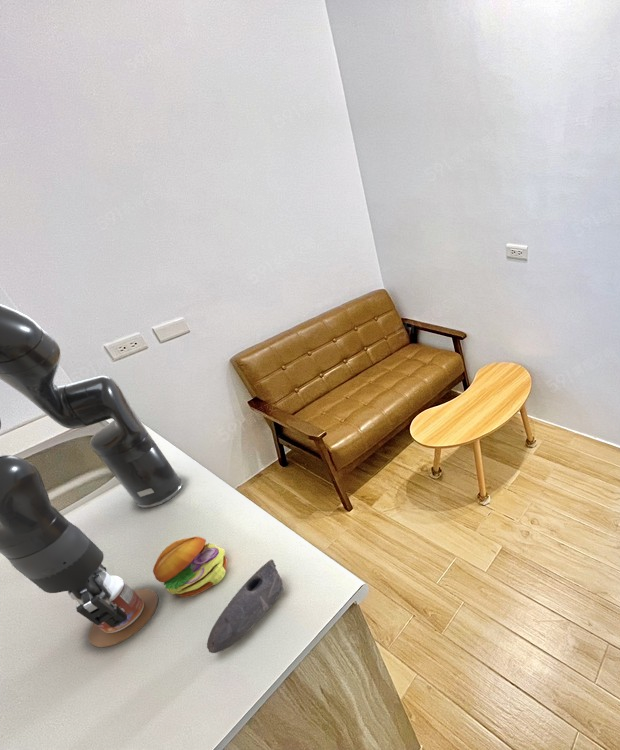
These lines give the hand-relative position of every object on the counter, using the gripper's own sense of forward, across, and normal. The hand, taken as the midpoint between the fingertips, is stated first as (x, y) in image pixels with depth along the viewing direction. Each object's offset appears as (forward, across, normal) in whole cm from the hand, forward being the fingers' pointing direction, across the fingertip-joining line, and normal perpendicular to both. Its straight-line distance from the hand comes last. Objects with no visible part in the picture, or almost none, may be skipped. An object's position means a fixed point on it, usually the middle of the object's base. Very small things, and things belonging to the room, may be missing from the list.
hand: (116, 608), depth 70 cm
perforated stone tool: (+3, -18, -16) cm, 25 cm away
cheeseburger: (+3, -1, -12) cm, 12 cm away
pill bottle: (+3, 0, 0) cm, 3 cm away
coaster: (+3, 0, 0) cm, 3 cm away
